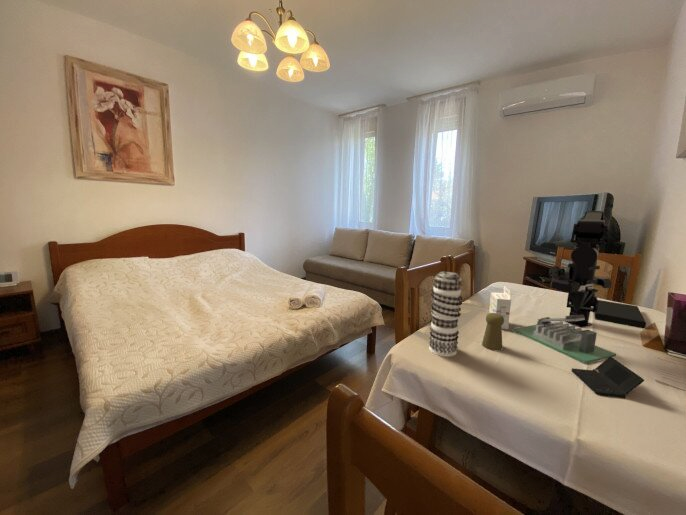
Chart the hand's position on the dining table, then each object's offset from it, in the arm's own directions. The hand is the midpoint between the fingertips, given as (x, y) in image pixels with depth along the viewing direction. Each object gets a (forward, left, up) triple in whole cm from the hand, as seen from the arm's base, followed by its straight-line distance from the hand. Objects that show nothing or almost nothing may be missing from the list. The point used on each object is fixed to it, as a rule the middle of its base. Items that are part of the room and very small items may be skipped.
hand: (577, 309), depth 91 cm
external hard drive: (-48, -14, -14) cm, 52 cm away
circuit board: (0, -4, -13) cm, 13 cm away
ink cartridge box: (+8, -22, -13) cm, 26 cm away
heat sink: (0, -3, -12) cm, 12 cm away
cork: (+24, -9, -13) cm, 29 cm away
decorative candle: (+41, -12, -13) cm, 45 cm away
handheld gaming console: (+13, +16, -13) cm, 25 cm away
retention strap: (0, -4, -5) cm, 7 cm away
